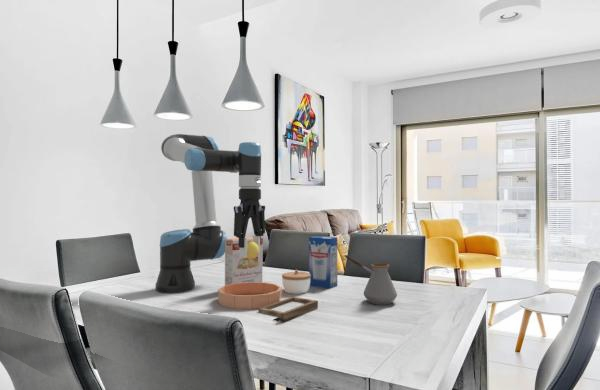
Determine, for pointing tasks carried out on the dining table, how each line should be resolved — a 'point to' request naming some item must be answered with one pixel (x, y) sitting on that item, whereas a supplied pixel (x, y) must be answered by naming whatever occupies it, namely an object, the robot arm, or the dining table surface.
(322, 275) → the milk carton
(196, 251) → the robot arm
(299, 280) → the lidded jar
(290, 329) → the dining table surface
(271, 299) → the bowl
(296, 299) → the tray
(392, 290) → the coffee pot
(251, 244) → the ball
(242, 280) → the cracker box
